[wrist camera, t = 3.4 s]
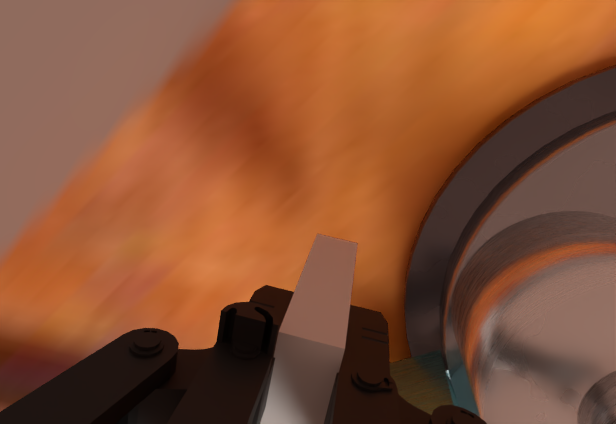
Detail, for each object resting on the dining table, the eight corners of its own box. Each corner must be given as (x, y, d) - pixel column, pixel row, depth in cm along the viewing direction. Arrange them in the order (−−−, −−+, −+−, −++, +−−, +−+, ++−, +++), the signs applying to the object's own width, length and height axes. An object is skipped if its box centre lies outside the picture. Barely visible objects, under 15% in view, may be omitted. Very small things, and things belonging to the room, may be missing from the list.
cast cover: (426, 369, 18) (456, 532, 12) (487, 188, 16) (567, 265, 9) (623, 420, 18) (772, 623, 11) (718, 239, 15) (983, 361, 9)
